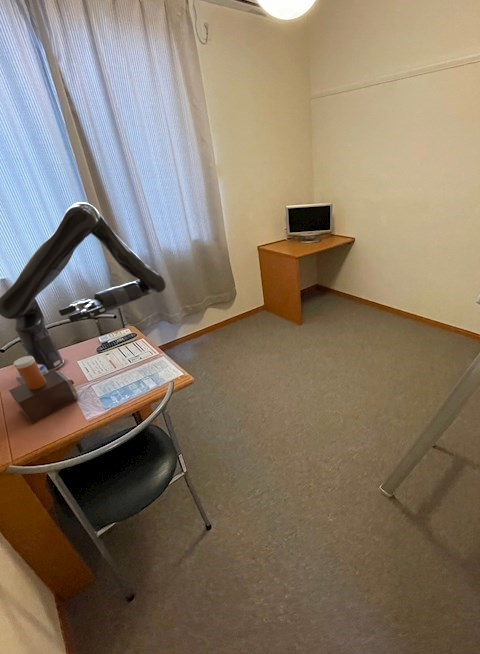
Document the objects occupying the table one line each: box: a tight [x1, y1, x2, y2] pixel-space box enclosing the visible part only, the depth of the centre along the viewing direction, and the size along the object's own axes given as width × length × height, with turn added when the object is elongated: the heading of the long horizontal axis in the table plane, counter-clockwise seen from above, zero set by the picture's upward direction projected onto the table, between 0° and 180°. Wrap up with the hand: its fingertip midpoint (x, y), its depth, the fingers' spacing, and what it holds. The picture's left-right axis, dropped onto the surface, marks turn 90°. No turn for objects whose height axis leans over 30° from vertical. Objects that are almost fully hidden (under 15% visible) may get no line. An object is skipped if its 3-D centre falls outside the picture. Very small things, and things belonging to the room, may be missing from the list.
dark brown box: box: [8, 370, 78, 425], centre depth 112 cm, size 14×11×9 cm
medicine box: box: [15, 364, 48, 385], centre depth 121 cm, size 8×4×9 cm, turn 168°
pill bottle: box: [12, 355, 46, 390], centre depth 107 cm, size 5×5×10 cm
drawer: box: [56, 370, 79, 399], centre depth 114 cm, size 14×9×7 cm
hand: (64, 316), depth 111 cm, fingers open, 8 cm apart
